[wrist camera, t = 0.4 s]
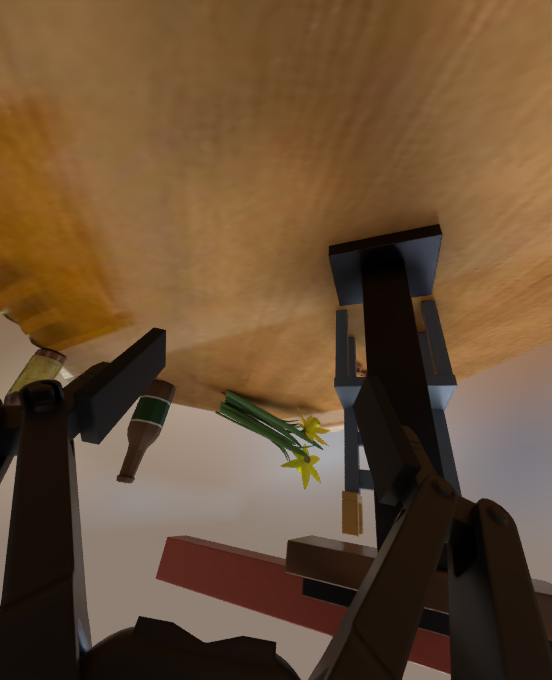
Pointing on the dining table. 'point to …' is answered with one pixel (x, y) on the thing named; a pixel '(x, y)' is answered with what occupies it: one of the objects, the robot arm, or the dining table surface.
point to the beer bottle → (145, 425)
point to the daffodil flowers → (240, 406)
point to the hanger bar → (270, 591)
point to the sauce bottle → (36, 372)
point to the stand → (408, 403)
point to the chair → (348, 388)
